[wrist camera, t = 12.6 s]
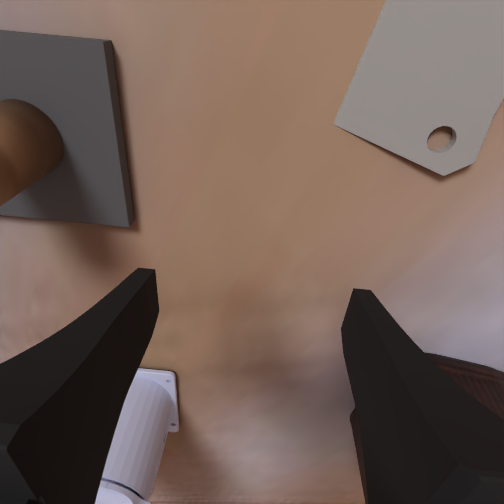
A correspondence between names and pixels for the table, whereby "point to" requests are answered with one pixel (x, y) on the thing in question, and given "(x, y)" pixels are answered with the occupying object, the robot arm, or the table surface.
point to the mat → (71, 127)
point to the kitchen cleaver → (429, 80)
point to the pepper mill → (465, 375)
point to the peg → (25, 147)
